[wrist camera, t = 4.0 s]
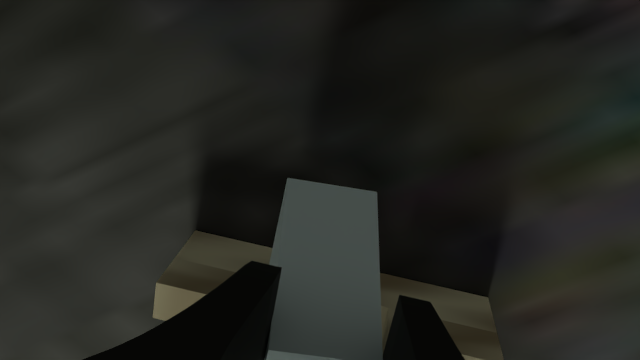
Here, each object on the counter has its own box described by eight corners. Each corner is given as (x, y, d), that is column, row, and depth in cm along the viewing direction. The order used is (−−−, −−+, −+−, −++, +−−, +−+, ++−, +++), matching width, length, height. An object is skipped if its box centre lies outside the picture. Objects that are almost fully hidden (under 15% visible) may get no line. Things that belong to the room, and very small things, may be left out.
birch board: (488, 297, 20) (504, 364, 17) (478, 327, 20) (492, 398, 17) (195, 230, 20) (156, 282, 17) (191, 261, 21) (152, 317, 18)
